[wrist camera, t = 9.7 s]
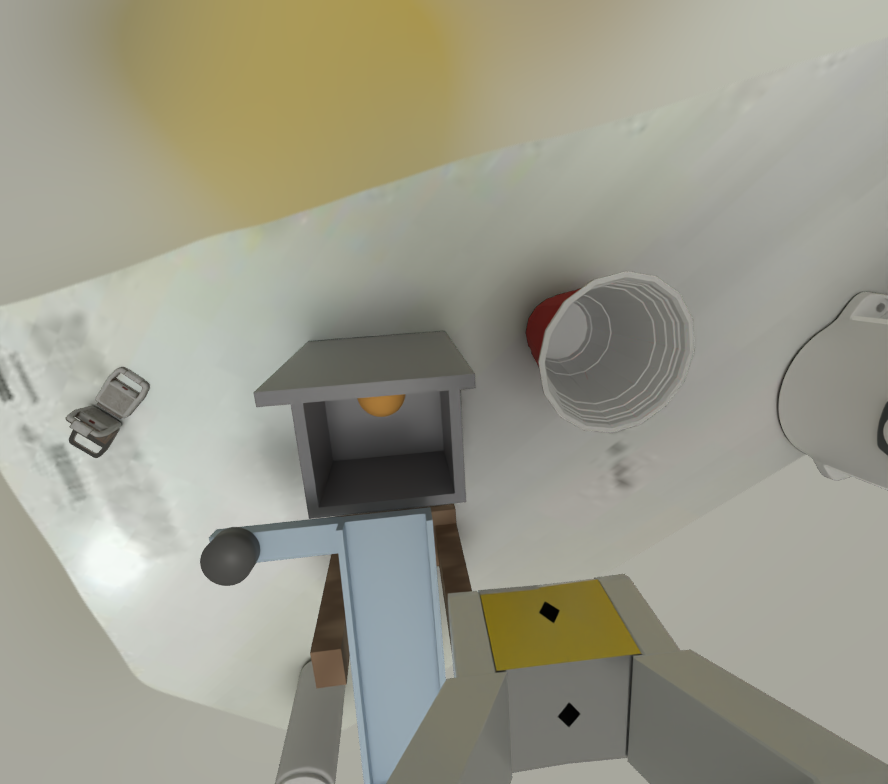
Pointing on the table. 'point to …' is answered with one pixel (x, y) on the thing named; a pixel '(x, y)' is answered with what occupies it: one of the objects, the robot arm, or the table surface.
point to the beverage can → (312, 733)
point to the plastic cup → (612, 350)
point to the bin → (375, 421)
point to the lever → (365, 612)
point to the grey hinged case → (115, 401)
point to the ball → (382, 404)
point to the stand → (331, 622)
